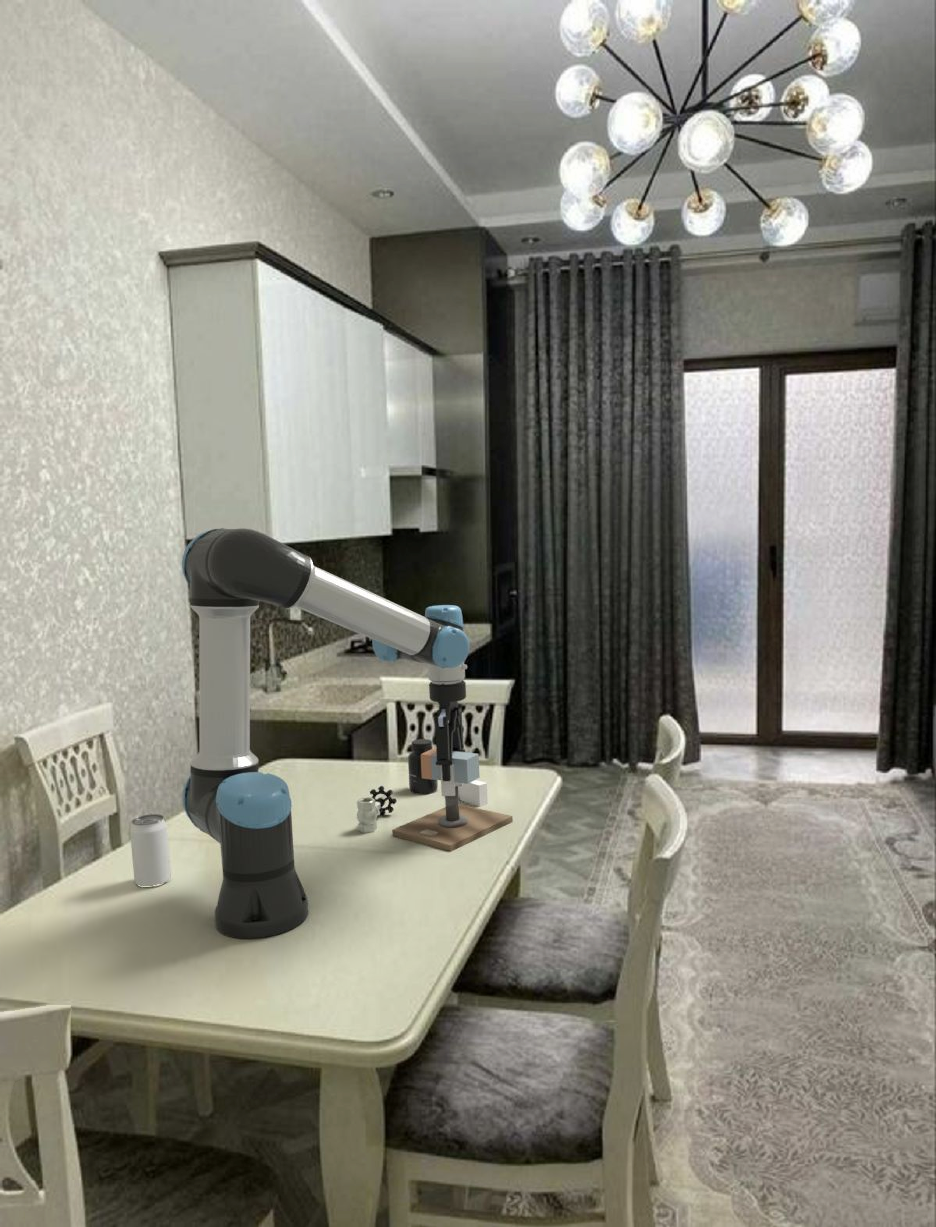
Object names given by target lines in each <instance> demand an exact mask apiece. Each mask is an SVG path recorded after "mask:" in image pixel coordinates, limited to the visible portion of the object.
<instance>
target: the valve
mask: <svg viewBox="0 0 936 1227" xmlns="http://www.w3.org/2000/svg"><path fill="white" fill-rule="evenodd" d="M377 790H378V791H377ZM377 790H376V789H375V788H373V789H371V790H370V791H369V794H370V795H372V796H371V797H362V798H359V799H358V800H357V801H356V804H357V806H356V807H357V812H356V819H357V821H358V823H357V825H358V832H361V833H363V834H367V833H374V832H375V831H376V830H377V827H378V826H377V821H376V820H377V818H378V815H379V816H382V817H384V816H385V815H386V811H388V814H392V813H393V812H394V807H393V806H392V805H394V806H395V804H397V799H396V798H395V797H394V798H392V795H393V792H394V791H393V790H392V789H389V790H387V791H385V787H384V786H383V785H380V786H379V787H378V788H377ZM378 795H384V796H385V797H383V796H381V797H378V798H376V797H377V796H378ZM386 801H388V804H387V806H385V804H386ZM384 806H385V807H384Z"/></svg>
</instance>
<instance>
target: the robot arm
mask: <svg viewBox="0 0 936 1227" xmlns="http://www.w3.org/2000/svg"><path fill="white" fill-rule="evenodd" d="M181 568H182V570H181V571H182V574H183V577H184V579H185V581H186V582H187V584H188V586H189V589H190V590H189V591H190V592H189V594H190V597H189V598H190V601H189V602H190V603H189V606H190V608H191V609H192V610H193V611H194V612H195V613H196V614H197V615H198V617H199V628H198V629H199V636H198V638H199V645H198V646H199V650H198V651H199V653H198V654H199V750H198V751H199V752H198V753H197V755H195V756H194V757H193V758H192V759H191V761H190V774H189V775H190V776H189V777H188V778H187V779H186V781H185V783H184V786H183V789H182V795H181V800H182V806H183V809H184V812H185V814H186V816H187V818H188V820H189V821H190V822H191V823H192V824H193V826H194V827H196V828H197V829H199V831H201V832H202V833H205V834H206V835H208V836H210V837H211V838H212V839H214V840H215V841H216V842H217V843H219V845H220V855H221V865H222V866H221V868H222V869H221V870H222V882H221V885H220V890H219V894H218V899H217V904H216V906H215V910H214V917H215V918H214V919H215V920H214V922H215V923H214V924H215V927H216V930H217V931H218V932H219V933H221V934H222V935H225V936H228V937H230V938H231V937H232V938H237V939H258V938H266V937H270V936H271V937H272V936H276V935H279V934H282V933H285V932H287V931H290V930H293V929H294V928H297V927H298V926H299V925H301V924H302V923H303V922H305V920H306V919H307V917H308V916H309V902H308V901H309V900H308V896H307V894H306V892H305V889H304V887H303V885H302V882H301V879H300V877H299V875H298V872H297V870H296V867H295V854H294V853H295V852H294V836H293V835H294V834H293V821H292V820H293V817H292V806H293V805H292V798H291V795H290V790H289V786H288V784H287V782H286V781H285V780H284V779H282V778H281V777H280V776H278V775H275V774H271V773H263V772H260V771H259V758H258V756H256V754H254V753H253V752H252V751H251V749H250V747H251V744H250V743H251V742H250V740H251V737H250V734H251V733H250V732H251V731H250V728H251V725H250V722H251V718H250V717H251V716H250V714H251V712H250V710H251V709H250V708H251V705H250V704H251V691H250V690H251V616H252V615H253V614H254V613H255V612H256V611H257V610H258V609H259V607H260V602H263V603H267V604H272V605H274V606H277V607H279V608H282V609H285V610H290V609H292V608H297V609H300V610H302V611H305V612H306V613H309V614H312V615H314V616H316V617H319V618H321V619H324V620H326V621H328V622H331V623H333V624H336V625H338V626H341V627H343V628H345V629H347V630H349V631H351V632H354V633H357V634H359V635H361V636H365V637H367V638H369V639H371V641H372V643H371V644H372V648H373V652H374V653H375V654H374V655H375V656H376V657H377V658H378V660H380V661H383V662H391V661H392V662H397V661H400V660H406V661H411V662H415V663H420V664H421V663H422V664H427V674H428V678H427V679H428V681H430V683H428V688H429V689H428V691H429V692H428V693H429V700H430V701H432V702H434V703H438V709H437V711H436V716H434V719H433V721H434V726H435V744H436V746H435V749H436V752H437V762H436V765H440V772H441V780H440V785H441V786H440V788H441V790H440V791H441V796H443V797H445V796H455V777H454V764H452V751H457V752H466V749H464V747H465V745H464V744H465V743H464V730H463V716H462V712H463V705H462V703H461V701H464V700H465V699H466V697H467V688H466V687H467V686H466V682H465V680H464V679H465V678H466V671H465V670H467V669H468V665H467V664H465V662H466V659H467V658H468V655H469V651H470V642H469V641H470V640H469V638H468V636H467V634H466V633H465V632H464V628H465V627H464V620H463V619H464V618H463V614H462V609H461V608H460V607H459V605H458V606H457V605H453V604H452V605H451V604H441V605H440V604H439V605H432V606H428V607H426V608H425V612H424V613H425V614H424V616H423V615H422V614H419V613H417V612H414V611H412V610H410V609H408V608H406V607H404V606H402V605H400V604H397V603H395V602H393V601H391V600H388V599H387V598H384V597H382V596H380V595H378V594H375V593H373V592H372V591H370V590H367V589H365V588H363V587H361V586H359V585H356V584H354V583H352V582H350V581H348V580H345V579H343V578H341V577H339V576H337V575H335V574H332V573H330V572H328V571H326V570H324V569H322V568H319V567H317V566H315V565H314V564H313V560H312V558H311V557H310V556H308V555H306V554H304V553H302V552H300V551H298V550H295V549H294V548H292V547H290V546H289V545H286V544H285V543H282V542H281V541H279V540H277V539H275V538H273V537H271V536H269V535H267V534H265V533H263V532H260V531H258V530H254V529H252V528H224V527H222V528H212V529H210V530H207V531H205V532H202V533H199V534H198V535H196V536H195V537H194V538H193V539H191V541H190V542H189V543H188V545H187V546H186V547H185V550H184V551H183V555H182V558H181ZM458 702H459V703H458ZM459 786H463V783H460V785H459Z"/></svg>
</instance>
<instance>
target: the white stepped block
mask: <svg viewBox="0 0 936 1227" xmlns="http://www.w3.org/2000/svg"><path fill="white" fill-rule="evenodd" d="M458 797H459V801H462V802H465V803H468V804H471V805H474V806H478V807H483V806H487V805H488V804H489V803H488V802H489V800H488V783H487V782H484V781H481V780H478V779H476V780H474V781H472V782H471V783H469V784H464V783H463V786H458Z"/></svg>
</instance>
